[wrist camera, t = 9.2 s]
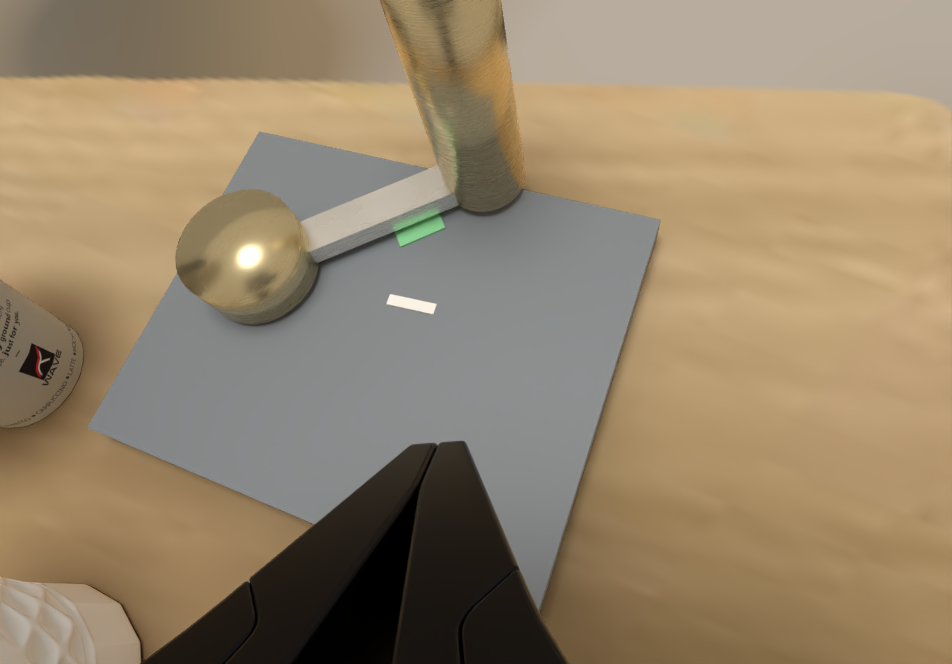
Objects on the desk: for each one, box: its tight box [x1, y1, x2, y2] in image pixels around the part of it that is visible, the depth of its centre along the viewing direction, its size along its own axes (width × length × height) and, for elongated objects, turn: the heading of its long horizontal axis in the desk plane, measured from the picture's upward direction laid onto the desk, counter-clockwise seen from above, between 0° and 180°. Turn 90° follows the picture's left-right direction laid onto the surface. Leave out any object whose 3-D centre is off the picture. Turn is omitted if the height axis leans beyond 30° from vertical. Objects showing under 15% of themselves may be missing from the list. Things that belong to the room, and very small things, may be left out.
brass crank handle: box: [176, 0, 525, 324], centre depth 16 cm, size 13×4×13 cm, turn 110°
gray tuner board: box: [87, 132, 660, 612], centre depth 22 cm, size 17×14×1 cm
